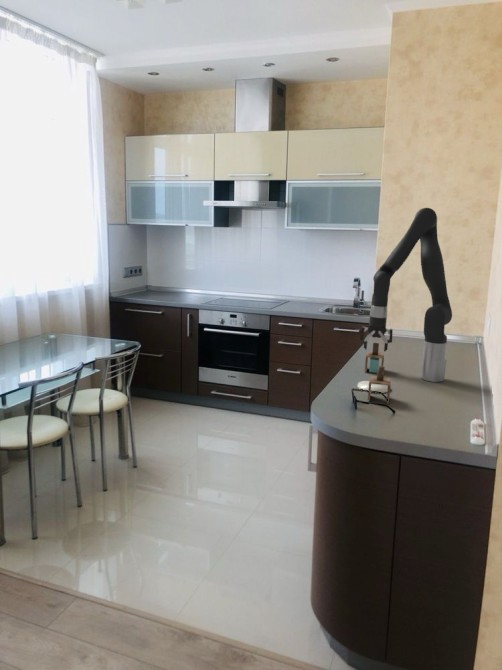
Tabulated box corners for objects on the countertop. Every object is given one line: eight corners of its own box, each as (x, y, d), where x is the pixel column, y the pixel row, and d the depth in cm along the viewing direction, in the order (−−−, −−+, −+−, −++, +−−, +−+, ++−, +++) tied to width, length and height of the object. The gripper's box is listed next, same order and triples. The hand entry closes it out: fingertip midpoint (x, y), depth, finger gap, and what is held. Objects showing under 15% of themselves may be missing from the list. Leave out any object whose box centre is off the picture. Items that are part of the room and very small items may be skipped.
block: (378, 370, 257) (379, 357, 256) (378, 372, 254) (379, 360, 252) (369, 369, 258) (370, 357, 257) (369, 371, 255) (370, 359, 253)
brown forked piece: (382, 369, 259) (385, 342, 256) (382, 374, 251) (384, 346, 248) (365, 368, 261) (367, 340, 258) (364, 372, 253) (366, 344, 250)
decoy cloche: (388, 397, 219) (391, 365, 216) (388, 404, 212) (391, 370, 209) (368, 395, 221) (370, 363, 218) (367, 401, 213) (370, 368, 211)
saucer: (396, 390, 228) (396, 387, 228) (371, 394, 222) (372, 392, 221) (374, 382, 239) (374, 379, 239) (350, 385, 233) (351, 383, 232)
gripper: (394, 315, 252) (391, 349, 256) (362, 312, 256) (359, 346, 259) (394, 318, 245) (391, 353, 249) (361, 315, 249) (358, 350, 252)
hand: (375, 350), depth 254 cm, fingers open, 8 cm apart
